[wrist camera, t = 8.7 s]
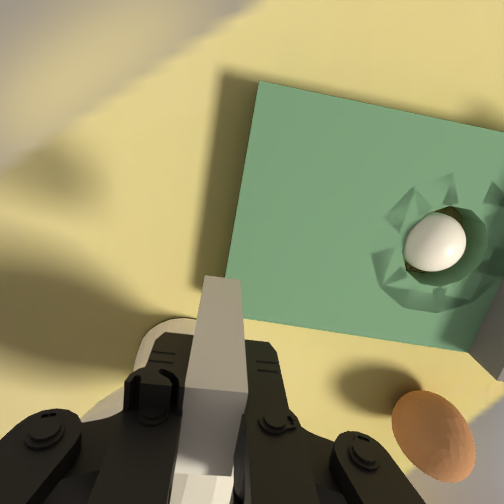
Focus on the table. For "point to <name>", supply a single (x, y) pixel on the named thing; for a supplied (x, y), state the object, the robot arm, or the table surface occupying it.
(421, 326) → the green
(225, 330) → the robot arm
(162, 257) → the table surface
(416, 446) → the egg
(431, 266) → the ball
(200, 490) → the cup
